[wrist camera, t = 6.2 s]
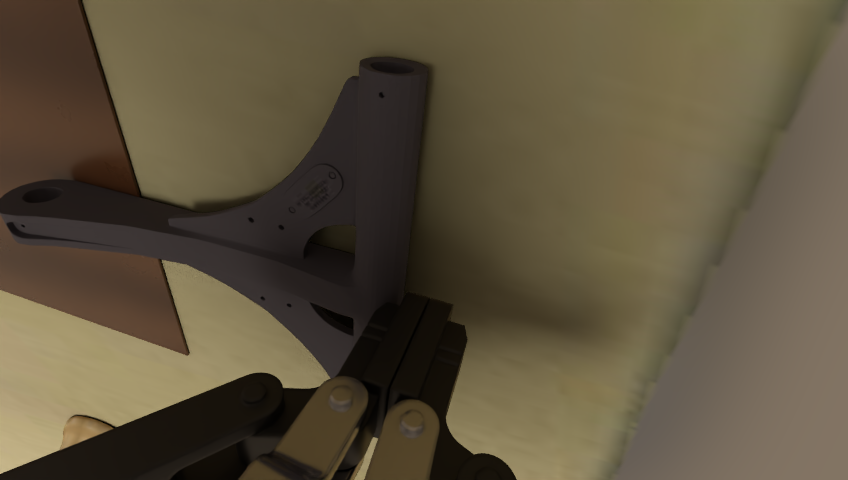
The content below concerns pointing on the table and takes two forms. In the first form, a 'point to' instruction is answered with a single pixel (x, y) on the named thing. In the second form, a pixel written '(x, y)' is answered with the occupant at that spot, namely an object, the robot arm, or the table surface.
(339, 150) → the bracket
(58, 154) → the board
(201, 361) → the table surface
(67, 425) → the hand bell
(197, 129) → the table surface
